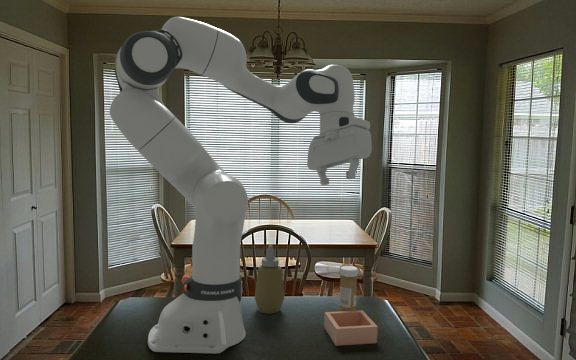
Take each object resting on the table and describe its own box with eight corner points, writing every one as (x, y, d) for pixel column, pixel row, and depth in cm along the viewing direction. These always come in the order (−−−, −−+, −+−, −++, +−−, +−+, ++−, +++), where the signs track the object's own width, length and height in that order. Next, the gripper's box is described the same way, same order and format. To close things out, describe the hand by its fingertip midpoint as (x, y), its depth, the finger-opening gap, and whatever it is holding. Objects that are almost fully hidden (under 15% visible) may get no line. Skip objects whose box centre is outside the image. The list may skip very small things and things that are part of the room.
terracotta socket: (335, 345, 107) (336, 328, 107) (324, 327, 117) (324, 312, 116) (376, 343, 109) (377, 326, 109) (362, 325, 119) (362, 310, 118)
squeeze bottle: (248, 309, 128) (249, 244, 126) (271, 302, 133) (272, 240, 131) (266, 318, 122) (267, 251, 120) (289, 311, 127) (291, 246, 125)
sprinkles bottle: (359, 317, 124) (361, 268, 122) (346, 321, 121) (348, 271, 120) (348, 312, 127) (350, 264, 126) (335, 315, 125) (336, 266, 124)
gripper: (301, 135, 124) (301, 186, 121) (356, 114, 108) (357, 172, 105) (319, 140, 128) (319, 189, 125) (375, 120, 112) (376, 176, 109)
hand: (337, 181), depth 115 cm, fingers open, 8 cm apart
